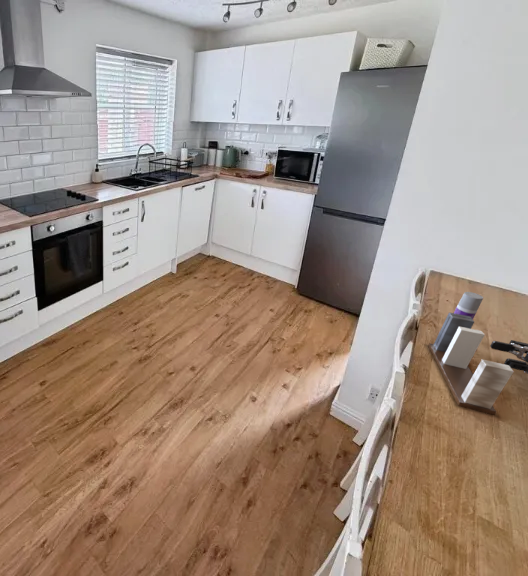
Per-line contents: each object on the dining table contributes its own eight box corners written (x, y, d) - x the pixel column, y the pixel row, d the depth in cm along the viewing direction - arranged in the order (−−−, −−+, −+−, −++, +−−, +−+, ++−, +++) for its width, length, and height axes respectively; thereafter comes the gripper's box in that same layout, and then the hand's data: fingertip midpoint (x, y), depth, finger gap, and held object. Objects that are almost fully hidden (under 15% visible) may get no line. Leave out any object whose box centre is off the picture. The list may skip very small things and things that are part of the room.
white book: (463, 364, 100) (481, 330, 95) (466, 369, 99) (484, 334, 94) (441, 359, 102) (458, 326, 97) (443, 363, 100) (461, 329, 95)
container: (458, 343, 112) (481, 300, 105) (440, 336, 115) (461, 293, 108) (463, 339, 114) (486, 296, 107) (446, 332, 117) (466, 290, 111)
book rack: (455, 352, 107) (474, 316, 102) (494, 415, 85) (520, 374, 80) (427, 345, 110) (444, 311, 104) (458, 405, 87) (481, 364, 82)
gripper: (571, 343, 94) (494, 327, 99) (609, 376, 82) (518, 356, 87) (555, 366, 97) (481, 350, 103) (589, 401, 85) (503, 381, 91)
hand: (498, 353), depth 95 cm, fingers open, 8 cm apart
